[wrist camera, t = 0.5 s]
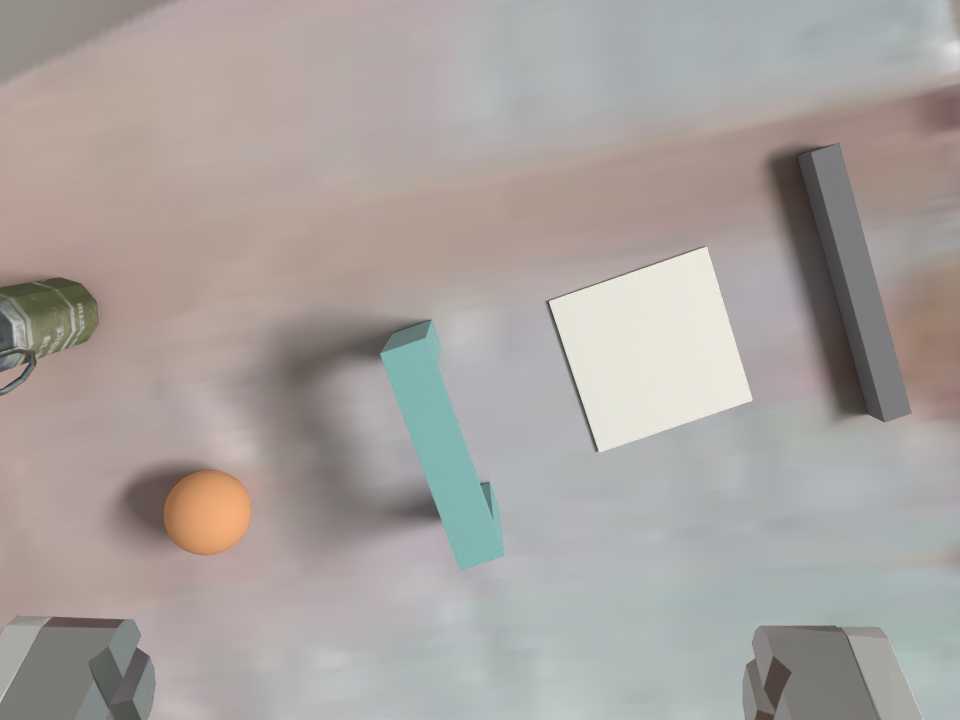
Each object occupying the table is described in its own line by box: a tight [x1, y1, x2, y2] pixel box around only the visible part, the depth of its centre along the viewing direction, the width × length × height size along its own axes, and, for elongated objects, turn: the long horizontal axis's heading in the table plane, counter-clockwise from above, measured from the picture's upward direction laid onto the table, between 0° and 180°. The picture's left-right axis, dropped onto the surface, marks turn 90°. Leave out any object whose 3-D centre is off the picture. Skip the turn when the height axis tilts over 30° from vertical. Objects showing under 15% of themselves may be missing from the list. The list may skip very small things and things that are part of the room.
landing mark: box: [549, 246, 752, 452], centre depth 63 cm, size 12×12×1 cm
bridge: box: [380, 320, 504, 571], centre depth 58 cm, size 3×15×10 cm, turn 19°
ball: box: [164, 470, 252, 555], centre depth 61 cm, size 6×6×6 cm
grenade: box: [0, 278, 99, 396], centre depth 54 cm, size 6×6×15 cm
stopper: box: [797, 143, 911, 422], centre depth 61 cm, size 20×2×2 cm, turn 19°
